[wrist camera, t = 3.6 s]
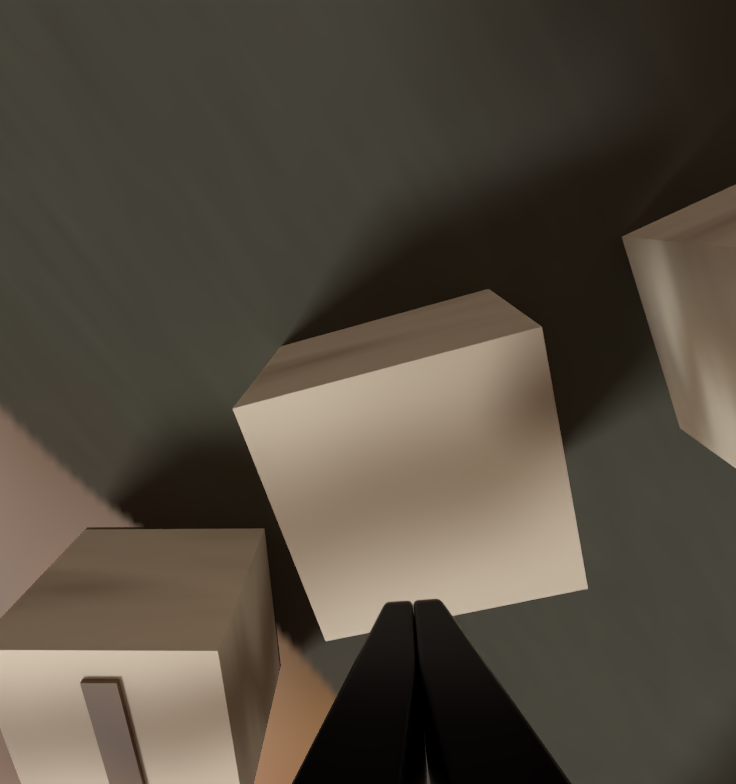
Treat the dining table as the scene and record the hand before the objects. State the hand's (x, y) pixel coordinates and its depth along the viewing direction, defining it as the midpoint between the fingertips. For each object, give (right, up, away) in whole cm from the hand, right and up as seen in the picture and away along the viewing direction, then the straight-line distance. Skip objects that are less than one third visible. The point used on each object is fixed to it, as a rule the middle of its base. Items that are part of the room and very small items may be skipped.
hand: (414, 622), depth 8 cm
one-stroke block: (-7, -4, +10) cm, 13 cm away
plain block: (+1, +3, +7) cm, 8 cm away
